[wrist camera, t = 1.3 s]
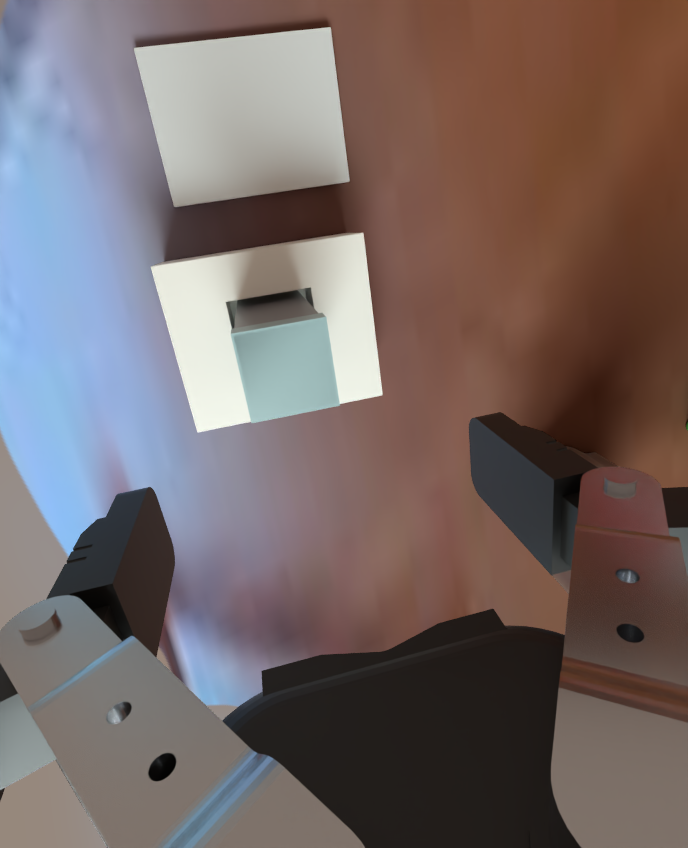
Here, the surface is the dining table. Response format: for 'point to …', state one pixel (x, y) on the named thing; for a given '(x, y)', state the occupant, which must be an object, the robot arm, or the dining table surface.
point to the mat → (246, 114)
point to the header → (258, 276)
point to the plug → (283, 356)
